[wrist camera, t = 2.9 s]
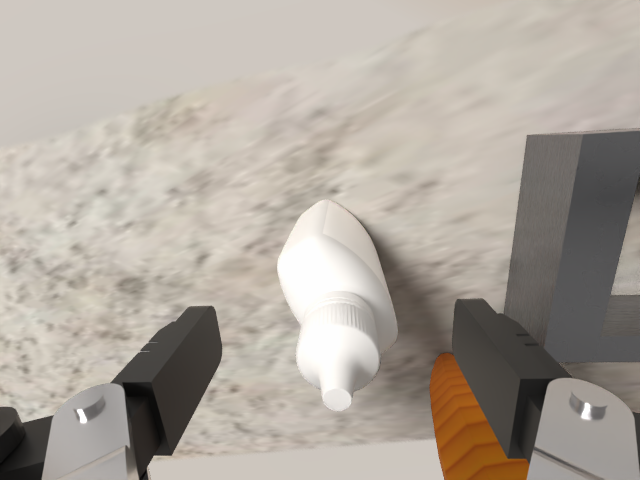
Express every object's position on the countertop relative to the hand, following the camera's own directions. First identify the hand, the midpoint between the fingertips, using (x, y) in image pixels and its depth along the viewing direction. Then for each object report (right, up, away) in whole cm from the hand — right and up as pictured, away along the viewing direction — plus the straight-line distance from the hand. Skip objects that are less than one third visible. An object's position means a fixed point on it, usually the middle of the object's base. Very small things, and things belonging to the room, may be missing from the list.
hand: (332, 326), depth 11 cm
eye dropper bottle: (+1, +3, +9) cm, 9 cm away
